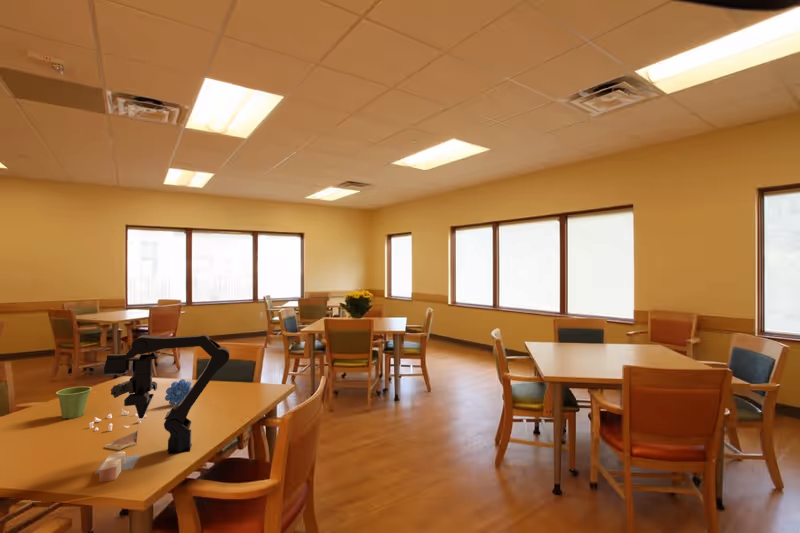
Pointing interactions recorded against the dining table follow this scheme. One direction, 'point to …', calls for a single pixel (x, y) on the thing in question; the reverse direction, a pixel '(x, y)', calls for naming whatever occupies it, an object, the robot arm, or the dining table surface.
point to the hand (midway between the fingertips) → (141, 418)
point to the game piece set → (111, 417)
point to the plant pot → (73, 401)
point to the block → (112, 466)
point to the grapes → (177, 391)
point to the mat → (126, 463)
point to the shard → (123, 442)
